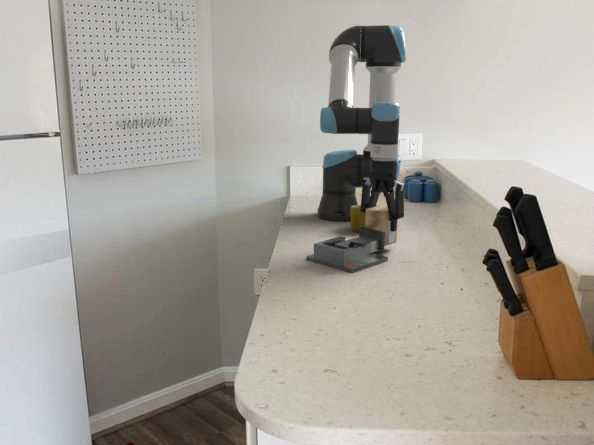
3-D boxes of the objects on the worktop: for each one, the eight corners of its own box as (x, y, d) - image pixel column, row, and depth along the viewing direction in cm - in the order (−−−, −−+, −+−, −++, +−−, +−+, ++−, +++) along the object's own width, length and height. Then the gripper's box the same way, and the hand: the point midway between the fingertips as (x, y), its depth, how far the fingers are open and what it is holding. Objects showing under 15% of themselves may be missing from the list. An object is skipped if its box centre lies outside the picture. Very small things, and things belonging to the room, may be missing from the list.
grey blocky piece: (331, 253, 160) (331, 235, 159) (361, 244, 169) (362, 227, 168) (362, 262, 153) (363, 243, 152) (392, 252, 162) (393, 233, 161)
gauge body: (306, 259, 159) (306, 241, 158) (342, 248, 170) (342, 231, 169) (352, 273, 148) (352, 253, 147) (387, 260, 159) (388, 242, 158)
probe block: (364, 243, 168) (365, 208, 166) (379, 238, 173) (380, 205, 171) (381, 247, 164) (383, 212, 162) (396, 242, 169) (397, 208, 167)
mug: (383, 230, 184) (375, 199, 184) (351, 238, 186) (343, 207, 187) (387, 228, 196) (379, 199, 196) (357, 235, 198) (350, 207, 199)
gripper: (348, 157, 167) (346, 236, 172) (404, 163, 154) (400, 248, 160) (364, 154, 172) (362, 231, 178) (420, 161, 159) (416, 243, 165)
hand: (380, 239), depth 169 cm, fingers closed on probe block, 6 cm apart
